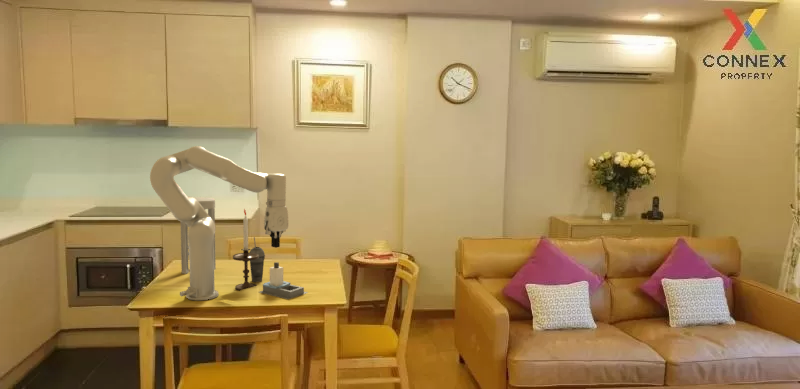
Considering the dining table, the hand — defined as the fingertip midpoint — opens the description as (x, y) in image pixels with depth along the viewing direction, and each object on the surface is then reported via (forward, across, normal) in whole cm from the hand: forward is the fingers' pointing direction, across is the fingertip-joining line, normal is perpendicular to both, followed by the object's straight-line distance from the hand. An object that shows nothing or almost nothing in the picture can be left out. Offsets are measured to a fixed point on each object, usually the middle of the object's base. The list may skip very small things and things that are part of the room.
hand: (275, 246), depth 239 cm
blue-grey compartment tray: (+20, +1, -4) cm, 20 cm away
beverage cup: (+20, +10, +21) cm, 31 cm away
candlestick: (+20, -1, +16) cm, 26 cm away
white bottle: (+19, 0, 0) cm, 19 cm away
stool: (+21, +5, +55) cm, 59 cm away
